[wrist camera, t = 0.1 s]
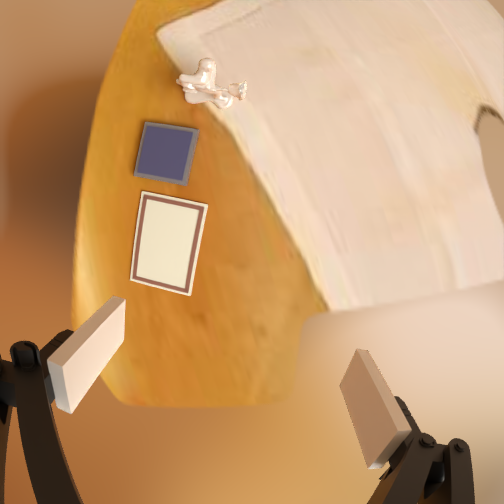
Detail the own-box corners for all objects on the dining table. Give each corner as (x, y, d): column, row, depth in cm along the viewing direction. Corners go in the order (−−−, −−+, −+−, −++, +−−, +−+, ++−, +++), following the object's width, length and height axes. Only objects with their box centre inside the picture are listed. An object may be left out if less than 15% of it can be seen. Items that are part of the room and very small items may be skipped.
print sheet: (142, 190, 41) (141, 191, 40) (208, 204, 41) (207, 204, 41) (130, 279, 44) (129, 280, 44) (190, 295, 45) (190, 296, 44)
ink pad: (147, 122, 38) (144, 121, 37) (199, 130, 39) (198, 129, 37) (136, 175, 40) (132, 175, 39) (187, 185, 41) (185, 185, 39)
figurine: (186, 80, 37) (161, 49, 25) (250, 81, 37) (247, 48, 25) (182, 111, 38) (155, 88, 26) (247, 112, 38) (244, 88, 26)
